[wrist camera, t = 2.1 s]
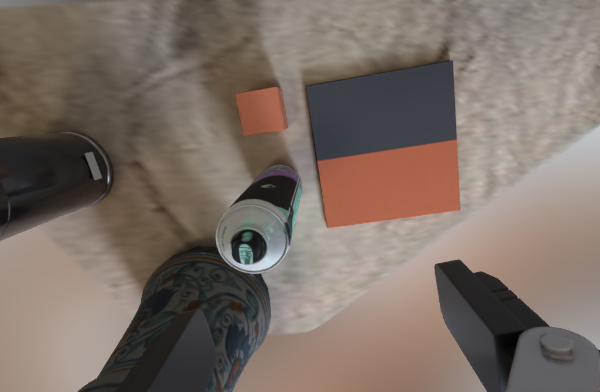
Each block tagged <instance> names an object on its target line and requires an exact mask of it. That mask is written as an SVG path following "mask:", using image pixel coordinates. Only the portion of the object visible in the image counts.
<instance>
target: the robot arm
mask: <svg viewBox="0 0 600 392" xmlns="http://www.w3.org/2000/svg"><path fill="white" fill-rule="evenodd" d="M112 176H113V175H112V167H111V163H110V160H109V158H108V156H107V154H106V153H105V151H104V150H103V149H102V147H101V146H100V145H99V144H98V143H97V142H95V141H94V140H93V139H91V138H90V137H88V136H86V135H84V134H81V133H77V132H59V133H55V134H42V135H30V136H18V137H6V138H0V241H1V240H4V239H6V238H8V237H11V236H13V235H16V234H18V233H21V232H23V231H26V230H28V229H31V228H33V227H36V226H38V225H41V224H43V223H46V222H48V221H50V220H53V219H55V218H58V217H60V216H63V215H65V214H68V213H70V212H73V211H75V210H78V209H80V208H83V207H87V206H90V205H92V204H95V203H97V202H99V201H100V200H102V199H103V198H104V197H105V196H106V194H107V193H108V191H109V189H110V187H111V184H112ZM435 275H436V282H437V289H438V295H439V302H440V307H441V312H442V315H443V318H444V321H445V323H446V325H447V327H448V329H449V330H450V332H451V334H452V335H453V337H454V338H455V340H456V342H457V343H458V345H459V347H460V348H461V350H462V351H463V353H464V355H465V356H466V358H467V360H468V361H469V363H470V365H471V366H472V368H473V369H474V371H475V373H476V374H477V376H478V377H479V379H480V381H481V382H482V384H483V386H484V387H485V389H486V390H487V392H600V350H598V349H597V348H596V347H595V345H594V344H592V343H591V342H590V341H589V340H587V339H586V338H584V337H582V336H581V335H579V334H576V333H574V332H571V331H568V330H565V329H561V328H555V327H550V326H549V325H548V324H547V323H546V322H545V321H543V320H542V319H541V318H540V317H539V316H538V315H537V314H536V313H535V312H533V310H531V309H530V308H529V307H528V306H527V305H526V304H525V303H524V302H523V301H521V300H520V299H518V298H517V296H516V295H515V294H514V293H513V292H512V291H511V290H508V288H507V287H506V286H505V285H504V284H503V283H502V282H501V281H500V280H499V279H497V278H495V277H493V276H491V275H488V274H486V273H484V272H476V273H472V272H471V271H470V270H469V269H468V268H467V266H466V265H465V264H464V263H463V262H462V261H460V260H454V261H449V262H443V263H438V264H435ZM215 364H216V348H215V344H214V341H213V338H212V336H211V333H210V330H209V327H208V324H207V321H206V318H205V315H204V313H203V312H202V310H200V309H196V310H190V311H185V312H180V313H177V314H176V315H175V317H174V318H173V320H172V321H171V323H170V324H169V326H168V327H167V329H166V330H164V331H163V332H162V333H160V334H159V335H158V336H157V337H156V338H155V339H154V340H152V341H151V342H150V344H149V345H148V347H147V348H146V349H145V351H144V352H143V355H142V356H140V358H139V359H138V361H137V362H136V366H133V368H132V369H131V370H130V372H129V373H128V375H127V376H126V377H125V379H124V380H123V382H122V383H121V384H120V386H119V387H118V389H117V390H116V391H115V392H205V390H206V388H207V385H208V383H209V380H210V378H211V375H212V373H213V370H214V368H215Z"/></svg>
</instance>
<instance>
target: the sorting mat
mask: <svg viewBox="0 0 600 392" xmlns="http://www.w3.org/2000/svg"><path fill="white" fill-rule="evenodd" d="M306 91H307V97H308V104H309V110H310V117H311V123H312V130H313V137H314V143H315V150H316V156H317V163H318V169H319V176H320V183H321V189H322V196H323V202H324V209H325V215H326V222H327V228H332V227H339V226H347V225H354V224H361V223H369V222H376V221H384V220H391V219H398V218H406V217H413V216H421V215H428V214H435V213H443V212H450V211H458V210H460V199H459V179H458V159H457V140H456V139H457V138H456V118H455V98H454V78H453V61H446V62H441V63H435V64H430V65H424V66H418V67H413V68H407V69H401V70H396V71H390V72H384V73H379V74H373V75H367V76H362V77H356V78H350V79H345V80H339V81H333V82H328V83H322V84H317V85H311V86H306Z"/></svg>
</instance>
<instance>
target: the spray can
mask: <svg viewBox="0 0 600 392" xmlns="http://www.w3.org/2000/svg"><path fill="white" fill-rule="evenodd" d="M301 192H302V182H301V179H300V177H299V175H298V174H297V172H296V171H295V170H293V169H292V168H290V167H288V166H285V165H274V166H271V167H269V168H267V169H266V170H264V171H263V172H262V173H261V175H260V176H259V177H258V178H257V179H256V180H255V181H254V182H253V183H252V184H251V185H250V186H249V187H248V188H247V189H246V191H245V192H244V193H243V194H242V195H241V196H240V197H239V198H238V199H237V200H236V201H235V202H234V203H233V204H232V205H231V206H230V208H229V209H228V210H227V211H226V212H225V213H224V214H223V216H222V218H221V220H220V222H219V224H218V226H217V230H216V245H217V248H218V251H219V253H220V254H221V256H222V258H223V259H224V260H225V261H226V262H227V263H228V264H229V265H230V266H232V267H233V268H235V269H237V270H239V271H242V272H245V273H251V274H256V273H263V272H267V271H269V270H271V269H273V268H274V267H276V266H277V265H278V264H279V263H280V262H281V261H282V260H283V258H284V256H285V255H286V253H287V251H288V249H289V246H290V243H291V238H292V234H293V229H294V224H295V220H296V215H297V211H298V206H299V202H300V197H301Z"/></svg>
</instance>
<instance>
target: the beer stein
mask: <svg viewBox="0 0 600 392" xmlns="http://www.w3.org/2000/svg"><path fill="white" fill-rule="evenodd" d="M196 309H200V310H202V312H203V313H204V315H205V318H206V321H207V324H208V327H209V330H210V333H211V336H212V338H213V341H214V344H215V348H216V364H215V368H214V370H213V373H212V375H211V378H210V380H209V383H208V385H207V388H206V390H205V392H232V391H233V389H234V387H235V385H236V383H237V381H238V379H239V377H240V375H241V373H242V371H243V369H244V367H245V366H246V364H247V362H248V360H249V359H250V357H251V356H252V354H253V353H254V352H255V351H256V350H257V349H258V348H259V347H260V345H261V344H262V343H263V341H264V339H265V337H266V335H267V332H268V329H269V324H270V318H271V310H270V298H269V293H268V288H267V286H266V284H265V282H264V280H263V278H262V276H261V274H260V273H256V274H251V273H245V272H242V271H239V270H237V269H235V268H233V267H232V266H230V265H229V264H228V263H227V262H226V261H225V260H224V259H223V258H222V256H221V254H220V253H219V251H218V248H217V247H196V248H193V249H190V250H188V251H185V252H183V253H180V254H178V255H175V256H173V257H172V258H171V259H170V260H168V261H167V262H165V263H164V264H162V265H161V266H160V267H159V268H158V269H157V270H156V271H155V272H154V273H153V274H152V275H151V277H150V278H149V280H148V281H147V283H146V285H145V287H144V290H143V294H142V298H141V304H140V306H139V309H138V311H137V313H136V315H135V316H134V318H133V320H132V322H131V324H130V325H129V327H128V329H127V330H126V332H125V334H124V335H123V337H122V339H121V340H120V342H119V344H118V345H117V347H116V348H115V350H114V352H113V353H112V355H111V356H110V358H109V360H108V361H107V363H106V364H105V366H104V368H103V369H102V371H101V373H100V374H99V376H98V377H97V379H95V380H93V381H92V382H90V383H88V384H87V385H85V386H84V387H82V388H81V389H80V390H79V391H78V392H115V391H116V390H117V389H118V387H119V386H120V384H121V383H122V382H123V380H124V379H125V377H126V376H127V375H128V373H129V372H130V370H131V369H132V368H133V366H136V362H137V361H138V359H139V358H140V356H142V355H143V352H144V351H145V349H146V348H147V347H148V345H149V344H150V342H151V341H152V340H154V339H155V338H156V337H157V336H158V335H159V334H160V333H162V332H163V331H164V330H166V329H167V327H168V326H169V324H170V323H171V321H172V320H173V318H174V317H175V315H176V314H177V313H180V312H185V311H190V310H196Z"/></svg>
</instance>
